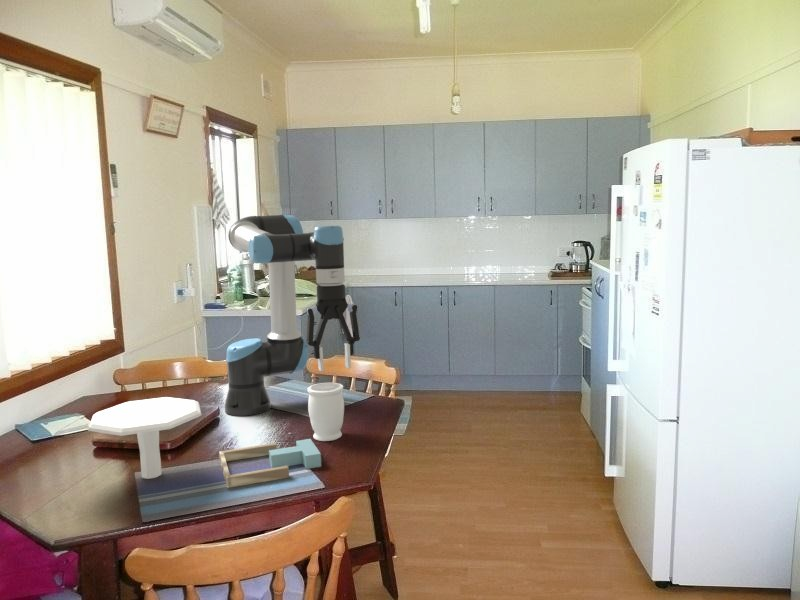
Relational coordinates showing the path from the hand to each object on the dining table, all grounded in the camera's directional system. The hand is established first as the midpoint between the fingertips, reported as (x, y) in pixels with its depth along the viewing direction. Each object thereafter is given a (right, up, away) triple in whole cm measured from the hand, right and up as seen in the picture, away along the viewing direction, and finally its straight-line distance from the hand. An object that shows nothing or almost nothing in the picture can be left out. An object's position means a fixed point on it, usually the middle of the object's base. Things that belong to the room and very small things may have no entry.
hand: (334, 368), depth 172 cm
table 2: (-46, -26, -10) cm, 53 cm away
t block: (-10, -24, -4) cm, 27 cm away
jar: (-3, -22, +14) cm, 26 cm away
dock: (-20, -25, -8) cm, 33 cm away
